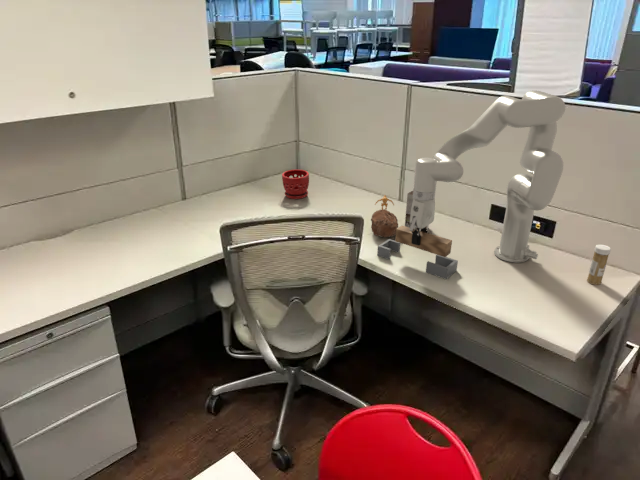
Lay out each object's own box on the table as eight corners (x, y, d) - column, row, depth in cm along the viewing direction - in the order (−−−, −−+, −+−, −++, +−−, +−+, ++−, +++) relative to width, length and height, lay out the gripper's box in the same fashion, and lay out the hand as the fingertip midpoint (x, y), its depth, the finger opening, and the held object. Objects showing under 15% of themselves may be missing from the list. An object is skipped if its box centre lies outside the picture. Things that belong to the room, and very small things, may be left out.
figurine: (392, 217, 219) (394, 192, 214) (393, 223, 214) (395, 197, 209) (373, 217, 220) (375, 191, 215) (374, 222, 214) (375, 196, 209)
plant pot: (282, 192, 249) (281, 169, 244) (308, 191, 251) (307, 168, 245) (283, 201, 238) (282, 178, 232) (310, 200, 239) (310, 176, 234)
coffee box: (417, 232, 205) (421, 196, 198) (403, 229, 208) (406, 193, 201) (427, 225, 211) (431, 190, 204) (414, 222, 215) (417, 187, 208)
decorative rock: (367, 228, 209) (368, 206, 205) (393, 226, 210) (395, 205, 206) (373, 241, 198) (374, 218, 193) (401, 240, 198) (402, 217, 194)
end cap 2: (456, 270, 176) (457, 260, 174) (446, 279, 170) (447, 269, 168) (436, 263, 180) (437, 254, 179) (425, 272, 175) (426, 262, 173)
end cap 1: (399, 251, 189) (400, 242, 187) (388, 259, 184) (389, 249, 182) (388, 248, 192) (389, 238, 190) (377, 255, 186) (377, 246, 185)
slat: (450, 253, 172) (452, 240, 170) (445, 257, 170) (446, 244, 167) (401, 237, 184) (402, 225, 182) (395, 241, 181) (396, 228, 179)
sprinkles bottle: (602, 286, 165) (612, 250, 160) (586, 283, 167) (596, 248, 161) (600, 280, 169) (610, 245, 163) (585, 277, 171) (595, 242, 165)
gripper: (421, 203, 161) (416, 253, 169) (445, 190, 173) (439, 237, 181) (401, 198, 165) (397, 247, 173) (425, 185, 177) (421, 231, 185)
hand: (418, 241), depth 177 cm, fingers closed on slat, 4 cm apart
